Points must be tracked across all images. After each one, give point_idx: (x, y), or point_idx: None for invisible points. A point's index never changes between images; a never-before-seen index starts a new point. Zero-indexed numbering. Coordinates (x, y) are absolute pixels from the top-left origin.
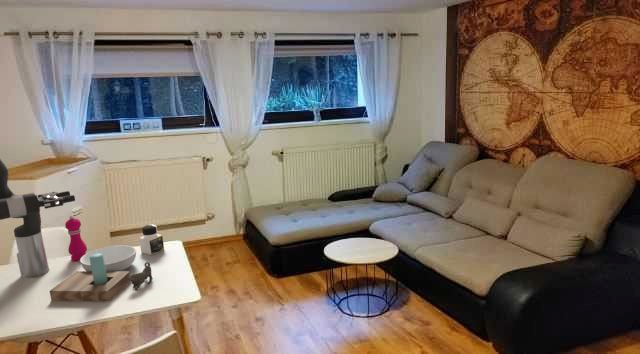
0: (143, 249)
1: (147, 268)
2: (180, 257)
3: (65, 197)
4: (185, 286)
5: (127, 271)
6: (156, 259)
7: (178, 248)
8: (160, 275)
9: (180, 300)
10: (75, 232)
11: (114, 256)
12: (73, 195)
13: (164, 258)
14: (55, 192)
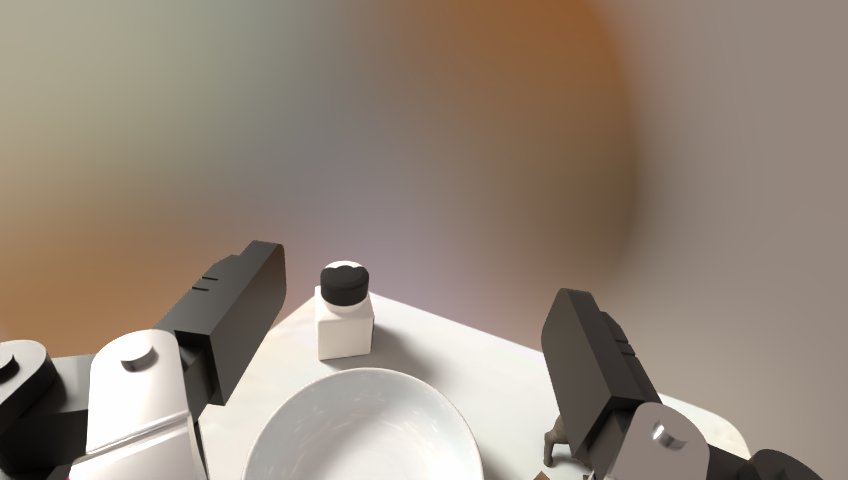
0: (334, 349)
1: None
2: (452, 324)
3: (626, 379)
4: None
5: (536, 477)
6: (412, 360)
7: (388, 299)
8: (540, 408)
9: (744, 454)
10: None
11: (300, 436)
12: (587, 292)
13: (424, 346)
14: (125, 357)
